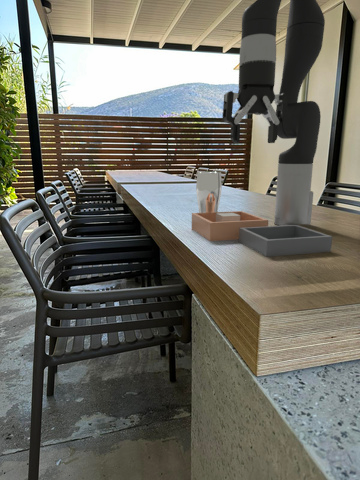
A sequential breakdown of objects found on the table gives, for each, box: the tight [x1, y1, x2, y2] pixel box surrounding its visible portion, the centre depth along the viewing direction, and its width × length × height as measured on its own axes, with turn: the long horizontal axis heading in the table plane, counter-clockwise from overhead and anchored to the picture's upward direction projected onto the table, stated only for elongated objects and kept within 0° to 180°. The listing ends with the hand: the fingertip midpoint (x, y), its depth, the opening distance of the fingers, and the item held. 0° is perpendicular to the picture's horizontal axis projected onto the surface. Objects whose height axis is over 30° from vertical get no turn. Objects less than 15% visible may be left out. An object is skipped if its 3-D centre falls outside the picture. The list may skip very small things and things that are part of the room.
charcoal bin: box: [238, 224, 333, 257], centre depth 69 cm, size 14×12×4 cm
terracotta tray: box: [191, 210, 269, 242], centre depth 81 cm, size 14×14×5 cm
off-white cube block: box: [216, 213, 240, 222], centre depth 81 cm, size 4×4×4 cm
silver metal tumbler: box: [195, 171, 223, 213], centre depth 93 cm, size 7×7×15 cm
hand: (253, 143), depth 74 cm, fingers open, 8 cm apart
